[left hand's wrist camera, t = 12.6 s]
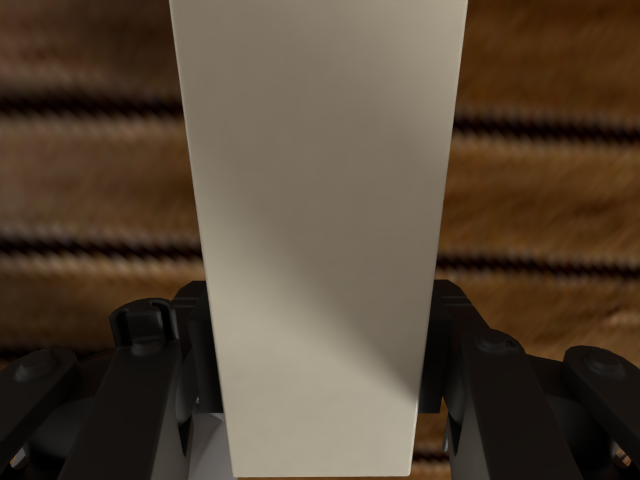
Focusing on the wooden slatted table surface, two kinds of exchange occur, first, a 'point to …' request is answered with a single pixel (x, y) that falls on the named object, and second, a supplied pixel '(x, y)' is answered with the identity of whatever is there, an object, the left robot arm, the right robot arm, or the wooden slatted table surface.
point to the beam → (319, 218)
